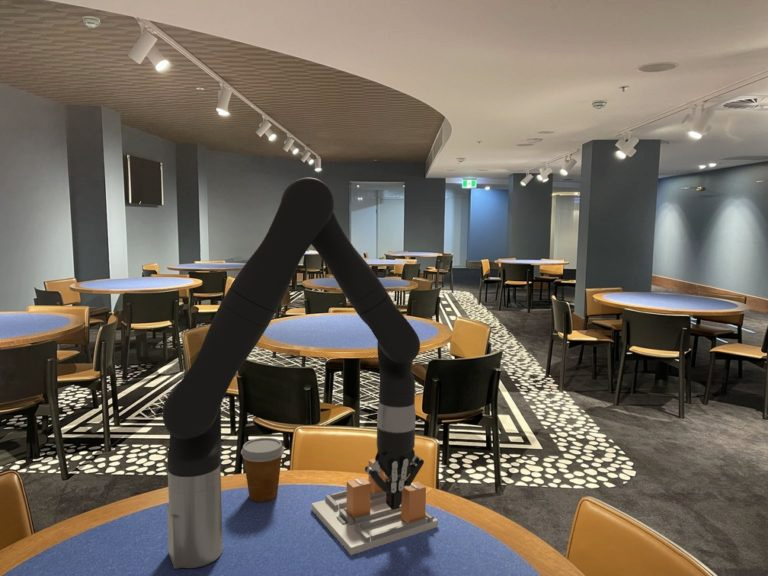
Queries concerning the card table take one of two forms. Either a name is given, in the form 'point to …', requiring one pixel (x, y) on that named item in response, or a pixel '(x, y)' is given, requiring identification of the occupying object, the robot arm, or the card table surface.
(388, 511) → the switch bank
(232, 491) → the card table surface
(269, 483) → the disposable coffee cup
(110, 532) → the card table surface
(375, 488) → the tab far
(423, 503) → the tab near
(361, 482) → the tab mid
